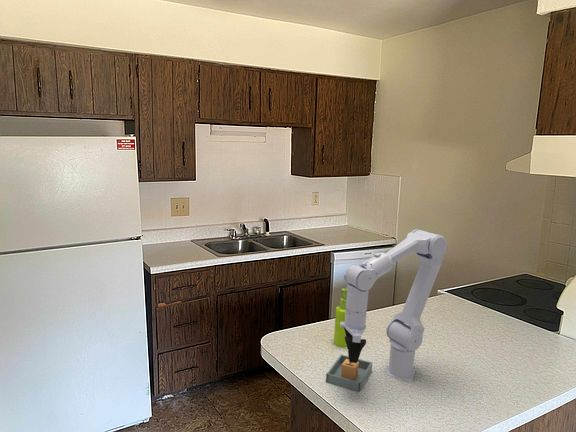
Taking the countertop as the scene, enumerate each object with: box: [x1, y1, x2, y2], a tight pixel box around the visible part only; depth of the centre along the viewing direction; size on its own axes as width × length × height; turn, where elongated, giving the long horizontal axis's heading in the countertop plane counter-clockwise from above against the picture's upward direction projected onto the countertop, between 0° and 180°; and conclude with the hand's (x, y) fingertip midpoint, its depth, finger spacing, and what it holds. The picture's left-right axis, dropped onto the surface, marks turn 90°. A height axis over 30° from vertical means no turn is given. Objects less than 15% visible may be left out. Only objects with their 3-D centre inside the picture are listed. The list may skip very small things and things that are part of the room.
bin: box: [325, 354, 373, 392], centre depth 127 cm, size 13×10×3 cm
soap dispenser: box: [333, 287, 347, 349], centre depth 146 cm, size 6×7×20 cm
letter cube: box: [341, 359, 359, 380], centre depth 127 cm, size 4×4×4 cm
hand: (351, 355), depth 121 cm, fingers open, 7 cm apart
